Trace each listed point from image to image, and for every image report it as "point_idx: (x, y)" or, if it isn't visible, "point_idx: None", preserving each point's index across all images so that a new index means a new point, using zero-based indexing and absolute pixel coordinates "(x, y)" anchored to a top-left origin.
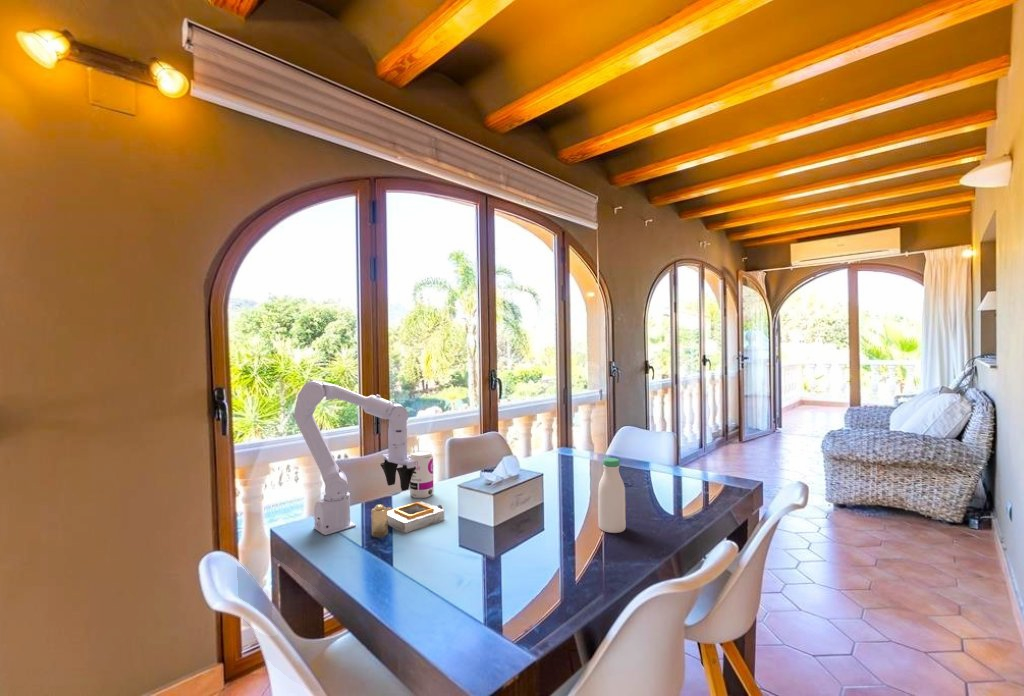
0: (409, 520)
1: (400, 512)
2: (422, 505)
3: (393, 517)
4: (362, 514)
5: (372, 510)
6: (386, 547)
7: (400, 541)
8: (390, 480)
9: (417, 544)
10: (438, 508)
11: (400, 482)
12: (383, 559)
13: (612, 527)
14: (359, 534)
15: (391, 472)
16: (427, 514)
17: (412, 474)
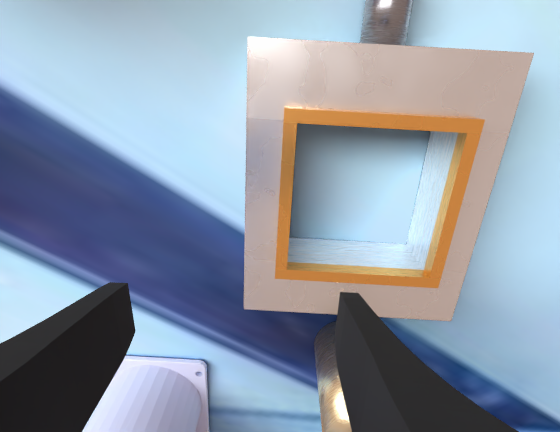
0: (449, 292)
1: (346, 281)
2: (364, 126)
3: None
4: (85, 281)
5: None
6: (462, 385)
7: (471, 337)
8: (111, 351)
9: (554, 318)
10: (472, 58)
11: (352, 418)
12: (519, 427)
13: None
14: (286, 383)
15: (51, 410)
16: (478, 181)
17: (465, 400)
